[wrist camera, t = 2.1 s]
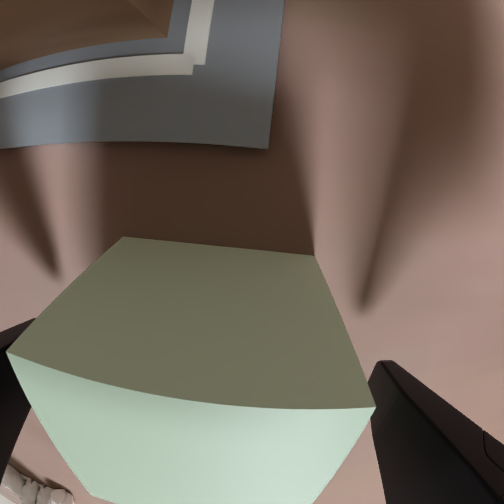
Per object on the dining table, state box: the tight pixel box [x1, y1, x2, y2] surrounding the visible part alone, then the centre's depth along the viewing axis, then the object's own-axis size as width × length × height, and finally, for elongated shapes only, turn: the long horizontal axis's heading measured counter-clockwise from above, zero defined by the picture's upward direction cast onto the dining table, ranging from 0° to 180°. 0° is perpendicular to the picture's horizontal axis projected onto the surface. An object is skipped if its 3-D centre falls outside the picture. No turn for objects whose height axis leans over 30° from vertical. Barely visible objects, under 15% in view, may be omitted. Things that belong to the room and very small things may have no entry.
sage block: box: [6, 237, 376, 504], centre depth 6 cm, size 5×5×5 cm
